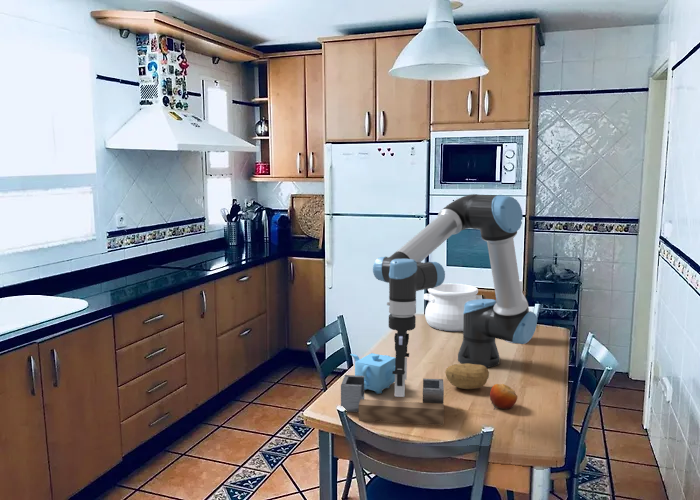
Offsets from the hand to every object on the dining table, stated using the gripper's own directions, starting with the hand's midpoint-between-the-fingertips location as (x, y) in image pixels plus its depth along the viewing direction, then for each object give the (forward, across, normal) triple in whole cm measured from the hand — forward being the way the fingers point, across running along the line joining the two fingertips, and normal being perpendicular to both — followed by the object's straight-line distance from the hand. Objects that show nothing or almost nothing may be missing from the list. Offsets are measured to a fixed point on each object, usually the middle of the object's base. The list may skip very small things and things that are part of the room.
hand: (400, 387), depth 169 cm
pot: (+9, -104, +18) cm, 106 cm away
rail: (+10, 0, 0) cm, 10 cm away
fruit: (+10, -13, +30) cm, 34 cm away
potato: (+10, -27, +20) cm, 35 cm away
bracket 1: (+10, -8, -15) cm, 20 cm away
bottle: (+9, -84, +43) cm, 95 cm away
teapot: (+10, -24, -10) cm, 28 cm away
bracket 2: (+10, -8, +9) cm, 16 cm away
